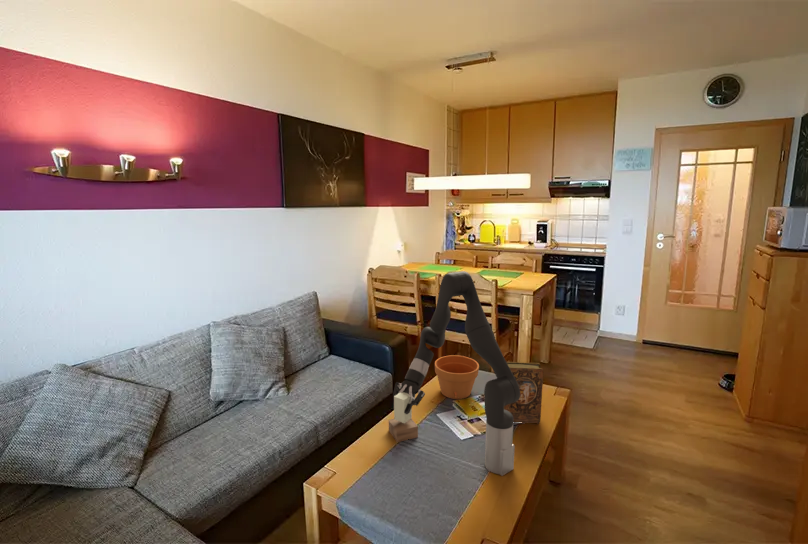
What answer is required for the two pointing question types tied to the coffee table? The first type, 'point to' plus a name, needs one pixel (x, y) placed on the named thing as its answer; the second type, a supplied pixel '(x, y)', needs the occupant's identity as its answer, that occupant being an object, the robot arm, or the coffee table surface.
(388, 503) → the coffee table surface
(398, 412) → the cream rectangular block
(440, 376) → the flower pot
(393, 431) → the walnut base block
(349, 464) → the coffee table surface
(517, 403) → the book
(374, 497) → the coffee table surface
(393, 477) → the coffee table surface
